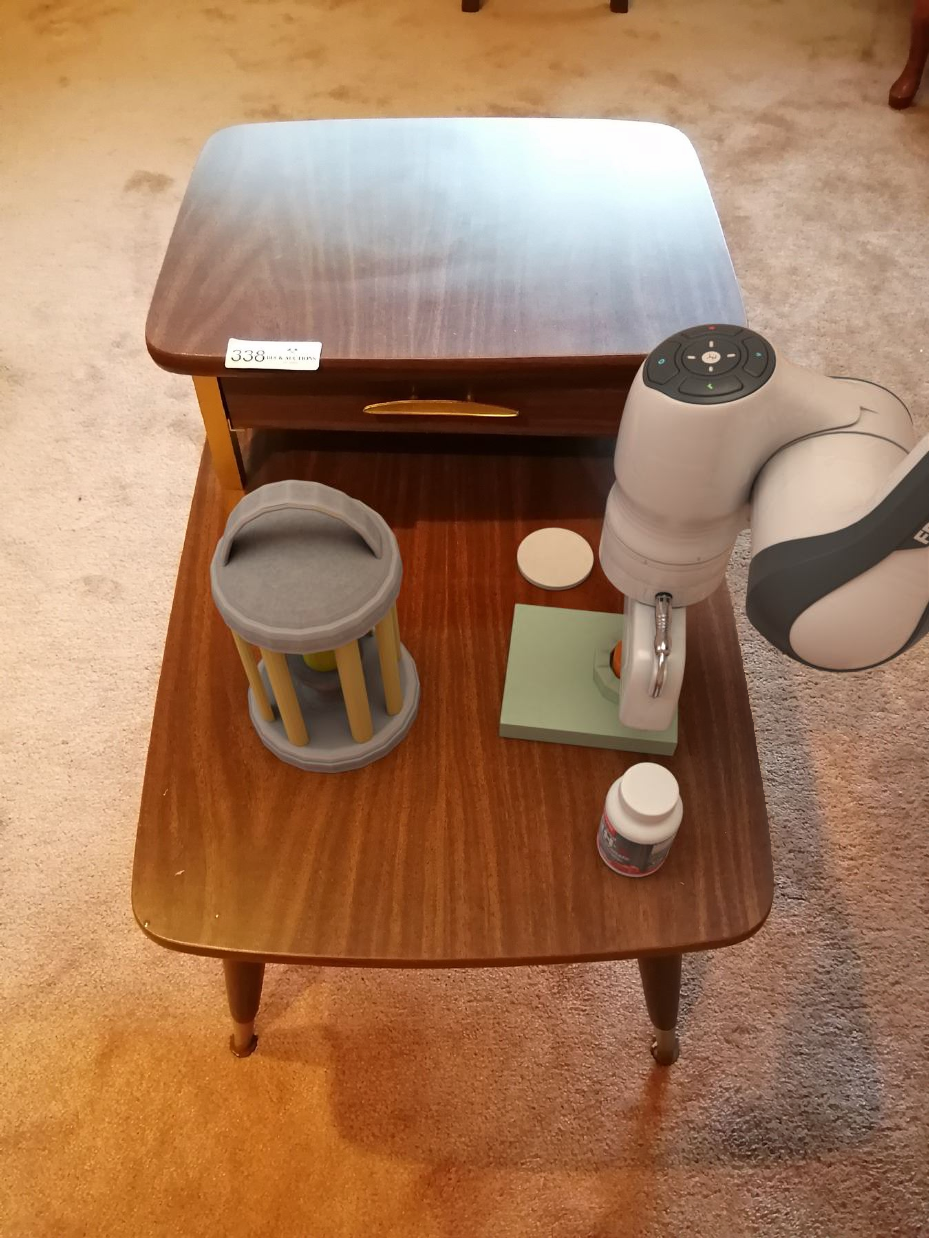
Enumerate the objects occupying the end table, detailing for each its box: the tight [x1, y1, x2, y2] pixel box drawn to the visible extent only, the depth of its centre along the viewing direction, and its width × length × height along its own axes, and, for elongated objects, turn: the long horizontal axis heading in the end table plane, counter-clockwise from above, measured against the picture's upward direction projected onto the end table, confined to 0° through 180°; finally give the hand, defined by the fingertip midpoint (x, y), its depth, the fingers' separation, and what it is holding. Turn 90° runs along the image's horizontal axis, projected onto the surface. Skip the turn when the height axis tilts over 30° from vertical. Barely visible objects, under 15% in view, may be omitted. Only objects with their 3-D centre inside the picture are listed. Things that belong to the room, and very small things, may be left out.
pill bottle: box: [596, 762, 684, 878], centre depth 71 cm, size 5×5×10 cm
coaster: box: [516, 527, 594, 591], centre depth 91 cm, size 7×7×1 cm
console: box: [498, 603, 679, 757], centre depth 81 cm, size 14×12×4 cm
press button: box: [612, 640, 622, 679], centre depth 79 cm, size 4×4×2 cm
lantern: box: [209, 479, 421, 774], centre depth 72 cm, size 14×14×25 cm
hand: (638, 654), depth 79 cm, fingers closed, pressing on press button
